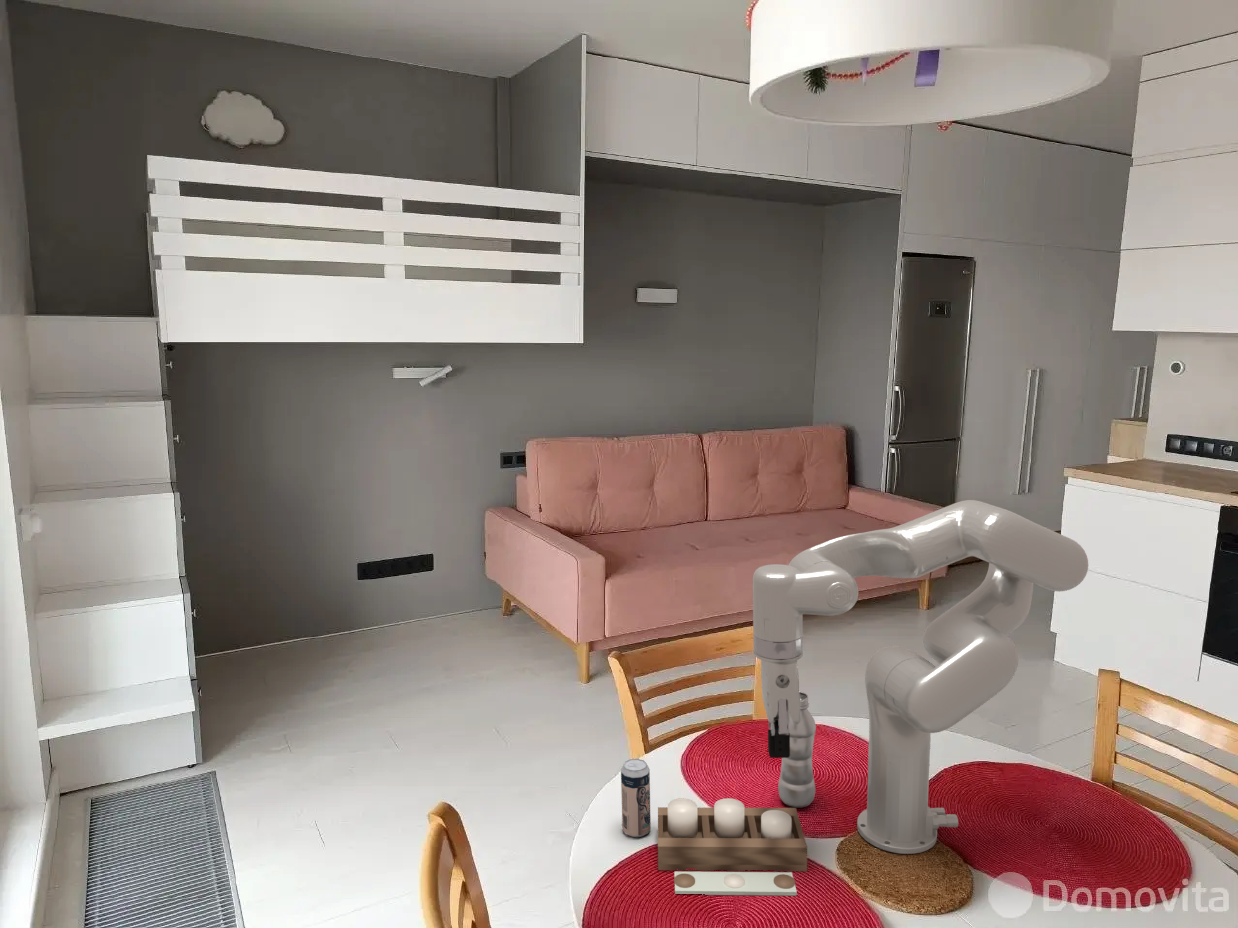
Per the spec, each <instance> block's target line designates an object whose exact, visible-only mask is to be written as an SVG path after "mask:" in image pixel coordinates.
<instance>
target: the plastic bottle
mask: <svg viewBox="0 0 1238 928" xmlns="http://www.w3.org/2000/svg"><path fill="white" fill-rule="evenodd" d="M799 695H800V717H801V721H800V723H798V724H796V723H793V721H792V718H791V716H790V714H789V733H790V757H788V758H781V767H780V774H779V779H778V785H777V789H778V794H779V798H780V800H781V801H782V802H783V804H785V805H786V806H789V807H790V808H796V809H797V808H805V807H808V806H810V805H811V804H812V802H813V801H814V799H815V796H816V795H815V794H816V783H815V778H814V771H813V770H814V769H813V754H814V752H813V751H814V750H813V749H814V742H815V736H816V729H817V728H816V727H817V724H816V721H815V718H814V717H813V714H811V712H810V711H809V710H808V708H809V707H810V706H809V705H810V703H809V695H808V694H807V693H806V692H803V691H799Z"/></svg>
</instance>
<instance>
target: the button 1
mask: <svg viewBox="0 0 1238 928" xmlns="http://www.w3.org/2000/svg"><path fill="white" fill-rule="evenodd" d="M667 807H668V834H669V835H670V836H671V837H672V838H694V837H695V836H696V835H697V833H698V814H697V808H698V804H697V802H696V801H694V800H692V799H690V798H687V797H686V798H685V797H679V798H674V799H672V800H670V801H669V802H668V803H667Z"/></svg>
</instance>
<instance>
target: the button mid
mask: <svg viewBox="0 0 1238 928" xmlns="http://www.w3.org/2000/svg"><path fill="white" fill-rule="evenodd" d="M713 805H714V806H713V808H714V832H715V834H716V836H718V837H719V838H742V837H743V836H744V808H745V804H744V803H743V802H742V801H740V800H738V799H735V798H732V797H731V798H728V797H727V798H721V799H717V801H716V802H715V803H714V804H713Z"/></svg>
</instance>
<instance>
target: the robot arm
mask: <svg viewBox="0 0 1238 928" xmlns="http://www.w3.org/2000/svg"><path fill="white" fill-rule="evenodd" d="M970 557H975V558H977V559H980V560H982V561H984V562H987V563H988V570H987V573H986V575H985V578H984V579H983V581H982V582H981V584H980V585H979V586H978V587H977V588H975V589H974V590H973V591H972V592H971V593H970V594H968V595H967V596H966V597H964V598H963V599H961V600H960V601H958V603H957V602H956V604H954V605H953V606H952V607H951V608H949V609H947V610H946V611H944V612H943V613H942V614H940V615H938V617H937V618H935V619H934V620H932V622H930V623H929V625H927V626H926V628H925V630H924V632H923V634H922V645H923V648H924V650H925V652H926V653H927V655H928V656H929V657H930V658H931V659H932V660H933V661H934V662H935V663H937V664H938V665H937V666H936V665H934V664H933V663H932V662H930V661H929V660H928V659H926V658H925V657H923V656H921V655H920V654H919V653H917V652H916V651H914V650H912V649H910V648H907V647H905V646H901V645H897V644H893V645H886V646H883V647H880V648H879V649H877V650H876V651H875V652H874V653H873V654H872V655H871V656H870V658H869V660H868V661H867V665H866V667H865V668H866V669H865V671H864V672H865V674H864V675H865V677H864V683H865V692H866V698H867V699H866V701H867V706H868V719H869V720H868V721H869V722H868V728H869V730H868V760H867V762H868V764H867V795H866V796H867V799H866V800H867V802H866V806H867V807H866V809H863V810H862V812H860V813H859V815H858V817H857V820H856V821H857V822H856V829H857V831H858V833H859V835H860V836H861V837H862V838H863V839H864V841H865V842H866V841H867V842H868V843H870V845H872V846H874V847H876V848H878V849H880V850H883V851H886V852H889V853H895V854H900V855H901V854H903V855H909V854H910V855H911V854H919V853H924V852H926V851H928V850H929V849H932V848H933V847H934V846H935V845H936V843H937V839H938V838H937V837H938V829H939V827H946V828H958V827H959V818H958V816H957V814H955V813H954V814H952V813H951V814H946V810H945V808H944V807H930V806H929V788H930V787H929V785H930V784H929V782H930V755H931V741H932V739H931V735H932V734H937V733H941V732H943V731H945V730H948V729H950V728H952V727H953V726H955V725H956V724H958V723H959V722H961V721H962V720H964V719H965V718H967V717H968V716H969V715H971V714H972V713H974V712H975V711H976V710H977V709H979V708H980V707H982V706H983V705H984V704H985V703H987V702H988V701H991V699H992V698H993V697H995V696H997V695H998V694H999V693H1001V692H1002V691H1003V690H1004V689H1005V688H1006V687H1007V686H1008V685H1009V684H1010V682H1011V681H1012V680H1013V678H1014V676H1015V674H1016V672H1017V670H1018V667H1019V652H1018V649H1017V647H1016V645H1015V642H1013V640H1012V639H1011V638H1010V637H1009V636H1010V635H1011V634H1012V633H1013V632H1015V630H1017V628H1019V627H1020V626H1021V625H1022V624H1023V623H1024V622H1025V620H1026V619H1027V617H1028V616H1029V614H1030V613H1029V612H1030V610H1031V606H1032V601H1033V600H1032V598H1033V592H1034V585H1037V586H1039V587H1041V588H1043V589H1045V590H1048V591H1053V592H1066V591H1070V590H1072V589H1075V588H1077V586H1079V585H1080V584H1081V583H1083V581H1084V580H1085V578H1086V576H1087V574H1088V572H1089V571H1088V570H1089V559H1088V556H1087V553H1086V551H1085V550H1084V548H1083V547H1082V545H1081V544H1080V543H1078V542H1077V541H1075V540H1074V539H1072V538H1070V537H1068V536H1065V535H1063V534H1061V533H1058V532H1056V531H1055V530H1052V529H1049V528H1047V527H1045V526H1042V525H1041V524H1039V523H1036V522H1034V521H1032V520H1030V519H1027V518H1026V517H1024V516H1022V515H1020V514H1017V513H1016V512H1013V511H1011V510H1008V509H1005V508H1003V507H999V506H996V505H993V504H990V503H987V502H985V501H981V500H977V499H966V500H965V499H964V500H961V501H958V502H955V503H952V504H949V505H946V506H945V507H942V508H939V509H937V510H934V511H932V512H930V513H927V514H925V515H922V516H920V517H917V518H914V519H912V520H909V521H907V522H905V523H902V524H899V525H897V526H894V527H891V528H890V527H889V528H882V529H876V530H871V531H866V532H859V533H853V534H847V535H844V536H838V537H835V538H832V539H829V540H827V541H824V542H822V543H819V544H817V545H814V546H811V547H810V548H806V549H805V550H803V551H801V552H799V553H798V554H797V555H795V556H794V557H793V558H792V559H791V560H790V561H789V563H788V564H780V563H779V564H778V563H777V564H776V563H775V564H774V563H773V564H766V565H765V564H764V565H762V566H759V567H758V568H756V569H755V570H754V572H753V576H752V625H753V626H752V627H753V629H752V631H753V633H752V634H753V637H752V639H753V655H754V657H755V658H757V659H758V660H760V678H761V679H760V681H761V694H762V695H761V696H762V702H763V706H764V710H765V713H766V717H767V721H768V729H767V749H768V750H767V753H768V755H769V757H770V758H771V759H779V758H780V759H782V758H788V757H790V733H789V714H790V716H791V718H792V721H793V723H796V724H798V723H800V721H801V717H800V695H799V692H800V678H799V668H798V666H799V665H798V661H799V660H800V659H802V658H803V653H804V652H803V651H804V649H803V646H804V645H803V643H804V641H803V640H804V639H803V638H804V637H803V635H804V634H803V633H804V632H803V631H804V630H803V629H804V626H803V623H804V621H803V618H804V617H803V615H813V616H815V615H816V616H827V617H828V616H839V615H842V614H845V613H846V612H847V613H848V612H849V611H850V610H851V609H852V608H853V607H854V606H855V604H856V603H857V601H858V599H859V587H858V584H857V581H856V578H859V577H860V578H861V577H870V576H871V577H872V576H873V577H874V576H875V577H887V578H894V579H916V578H920V577H922V576H925V575H928V574H929V573H931V572H934V571H936V570H939V569H941V568H944V567H946V566H948V565H952V564H953V563H957V562H959V561H962V560H963V559H964V560H965V559H966V558H970Z"/></svg>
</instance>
